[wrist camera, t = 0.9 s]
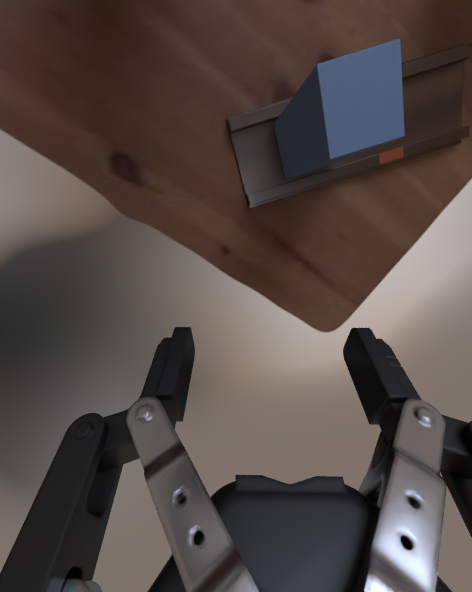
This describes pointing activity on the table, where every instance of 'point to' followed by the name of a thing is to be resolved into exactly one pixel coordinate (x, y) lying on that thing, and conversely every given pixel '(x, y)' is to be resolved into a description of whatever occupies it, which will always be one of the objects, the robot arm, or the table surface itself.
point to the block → (343, 110)
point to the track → (417, 141)
